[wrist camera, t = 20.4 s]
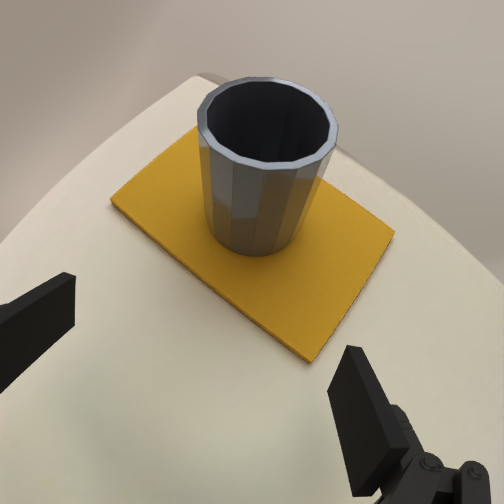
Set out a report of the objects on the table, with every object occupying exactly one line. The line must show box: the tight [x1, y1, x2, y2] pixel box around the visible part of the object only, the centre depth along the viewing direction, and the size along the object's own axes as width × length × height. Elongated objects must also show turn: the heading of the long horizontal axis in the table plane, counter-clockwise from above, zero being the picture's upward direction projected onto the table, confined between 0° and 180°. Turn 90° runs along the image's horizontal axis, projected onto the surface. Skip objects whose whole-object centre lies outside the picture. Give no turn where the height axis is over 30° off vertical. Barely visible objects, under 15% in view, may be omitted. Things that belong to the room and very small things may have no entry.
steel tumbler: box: [197, 77, 338, 257], centre depth 20 cm, size 7×7×10 cm
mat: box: [110, 126, 395, 363], centre depth 25 cm, size 20×13×1 cm, turn 52°
